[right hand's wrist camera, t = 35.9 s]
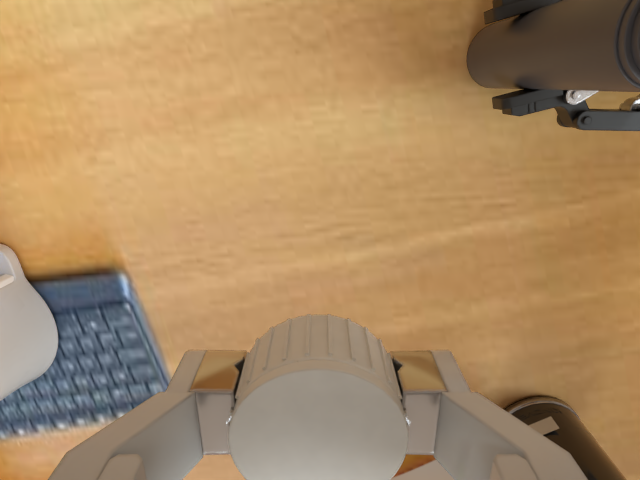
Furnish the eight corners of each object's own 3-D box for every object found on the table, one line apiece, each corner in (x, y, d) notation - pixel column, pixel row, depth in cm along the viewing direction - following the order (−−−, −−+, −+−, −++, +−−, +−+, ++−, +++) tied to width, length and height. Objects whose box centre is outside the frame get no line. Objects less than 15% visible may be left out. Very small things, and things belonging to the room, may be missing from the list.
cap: (330, 281, 10) (333, 331, 8) (424, 385, 11) (448, 453, 9) (210, 368, 10) (185, 433, 8) (308, 458, 12) (306, 533, 10)
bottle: (537, 62, 32) (914, 25, 12) (485, 100, 33) (751, 127, 13) (508, 8, 31) (877, -135, 11) (455, 50, 32) (699, -9, 12)
